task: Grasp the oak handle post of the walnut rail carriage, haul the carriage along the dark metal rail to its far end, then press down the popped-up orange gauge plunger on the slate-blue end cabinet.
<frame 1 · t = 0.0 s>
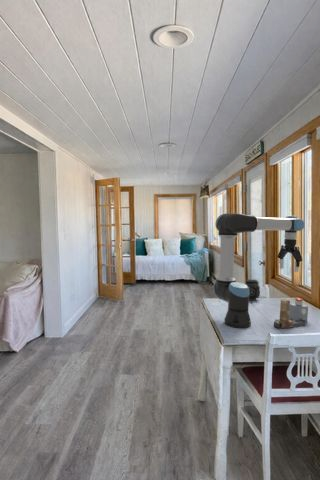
hand: (288, 270, 211), 28 cm above the table, fingers open, 13 cm apart
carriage: (284, 313, 180), point 8 cm above the table, slide at 0.0 cm
camera: (252, 299, 241), on the table
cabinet: (297, 319, 195), on the table
rail: (289, 325, 182), on the table
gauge: (298, 304, 194), point 10 cm above the table, slide at 0.0 cm
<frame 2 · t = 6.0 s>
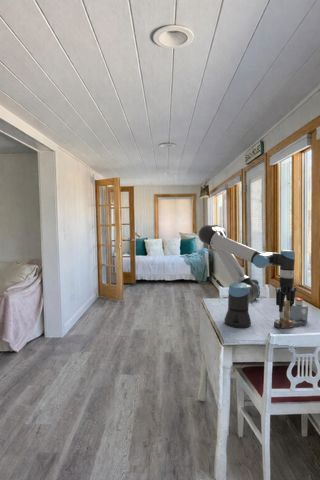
hand: (284, 317, 180), 6 cm above the table, fingers closed on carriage, 3 cm apart
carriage: (284, 313, 180), point 8 cm above the table, slide at 0.0 cm, touching gripper
everything else where it was.
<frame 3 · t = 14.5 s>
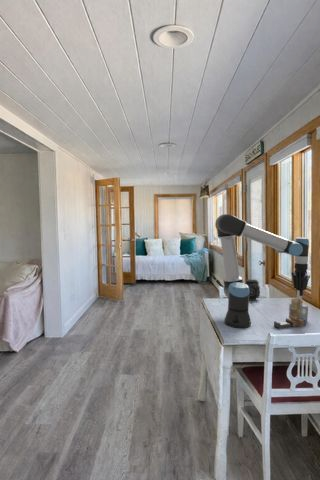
hand: (299, 300, 194), 12 cm above the table, fingers closed
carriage: (295, 311, 183), point 8 cm above the table, slide at 8.0 cm
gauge: (298, 306, 194), point 8 cm above the table, slide at -1.3 cm, touching gripper
everything else where it was.
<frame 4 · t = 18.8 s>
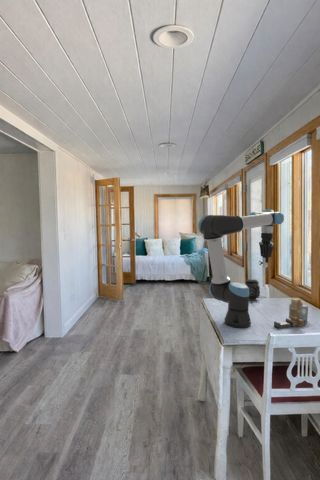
hand: (265, 267, 212), 29 cm above the table, fingers closed
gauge: (298, 307, 194), point 8 cm above the table, slide at -2.2 cm
everything else where it was.
at the end: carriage slide at 8.0 cm; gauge slide at -2.2 cm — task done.
